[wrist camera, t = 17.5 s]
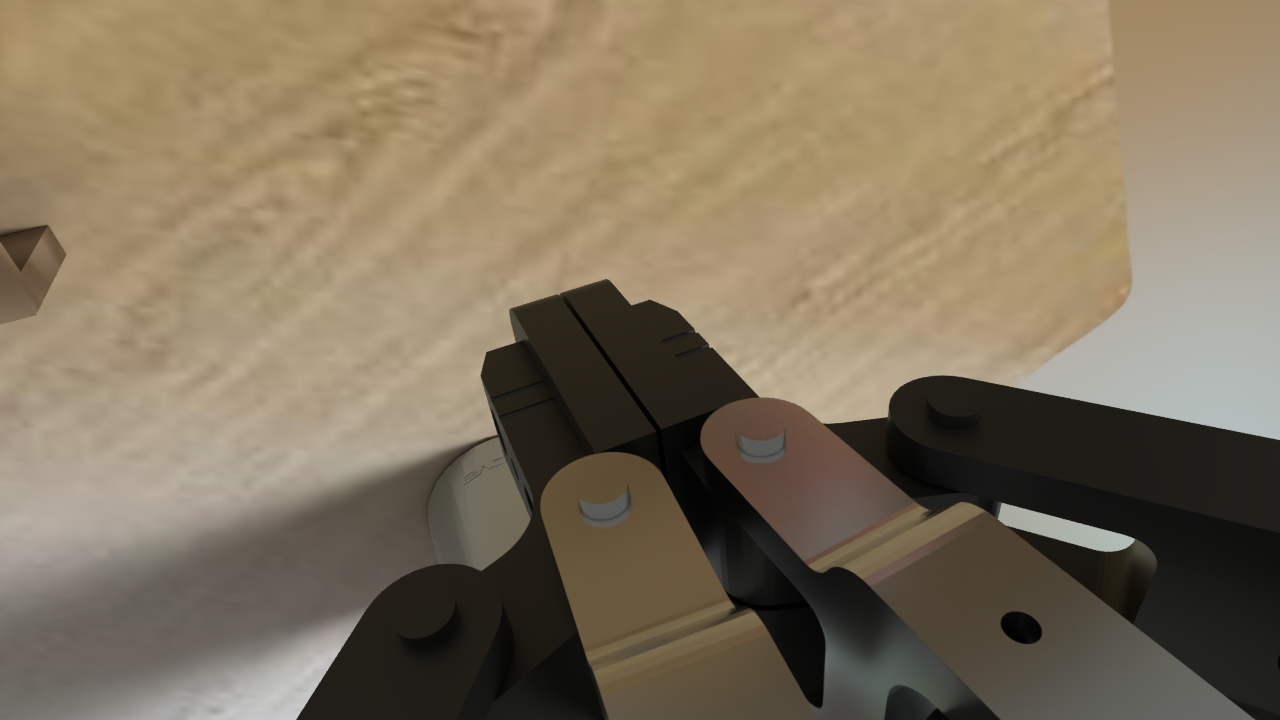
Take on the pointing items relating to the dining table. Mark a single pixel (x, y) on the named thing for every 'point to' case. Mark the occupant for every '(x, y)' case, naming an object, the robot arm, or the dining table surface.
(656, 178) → the dining table surface
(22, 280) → the low shelf
